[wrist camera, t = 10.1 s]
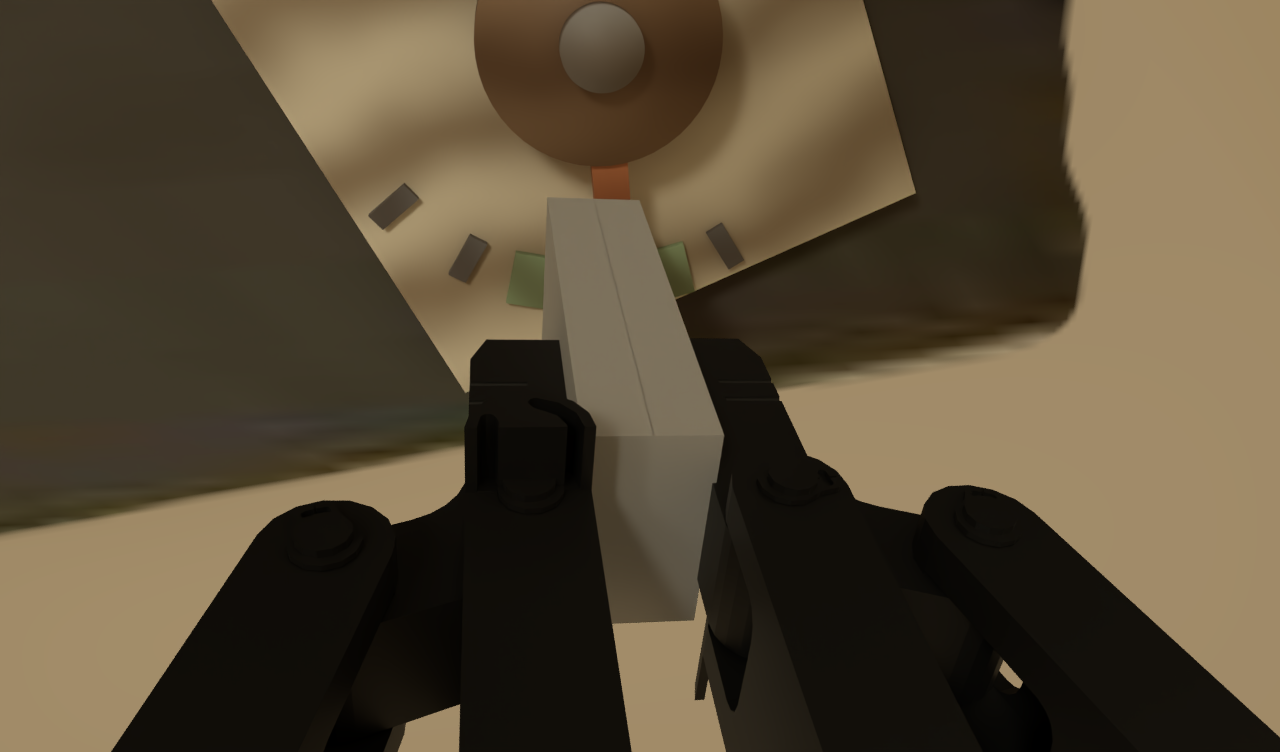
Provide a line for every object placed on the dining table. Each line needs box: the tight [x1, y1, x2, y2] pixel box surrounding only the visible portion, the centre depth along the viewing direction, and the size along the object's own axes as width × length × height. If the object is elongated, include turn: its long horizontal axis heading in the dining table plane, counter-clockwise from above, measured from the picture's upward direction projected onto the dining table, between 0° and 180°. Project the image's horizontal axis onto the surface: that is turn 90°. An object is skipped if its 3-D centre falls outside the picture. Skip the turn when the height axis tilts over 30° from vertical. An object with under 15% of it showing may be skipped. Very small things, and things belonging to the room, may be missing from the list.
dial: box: [474, 0, 723, 200], centre depth 35 cm, size 14×9×6 cm, turn 4°
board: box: [212, 0, 916, 393], centre depth 38 cm, size 20×22×2 cm
